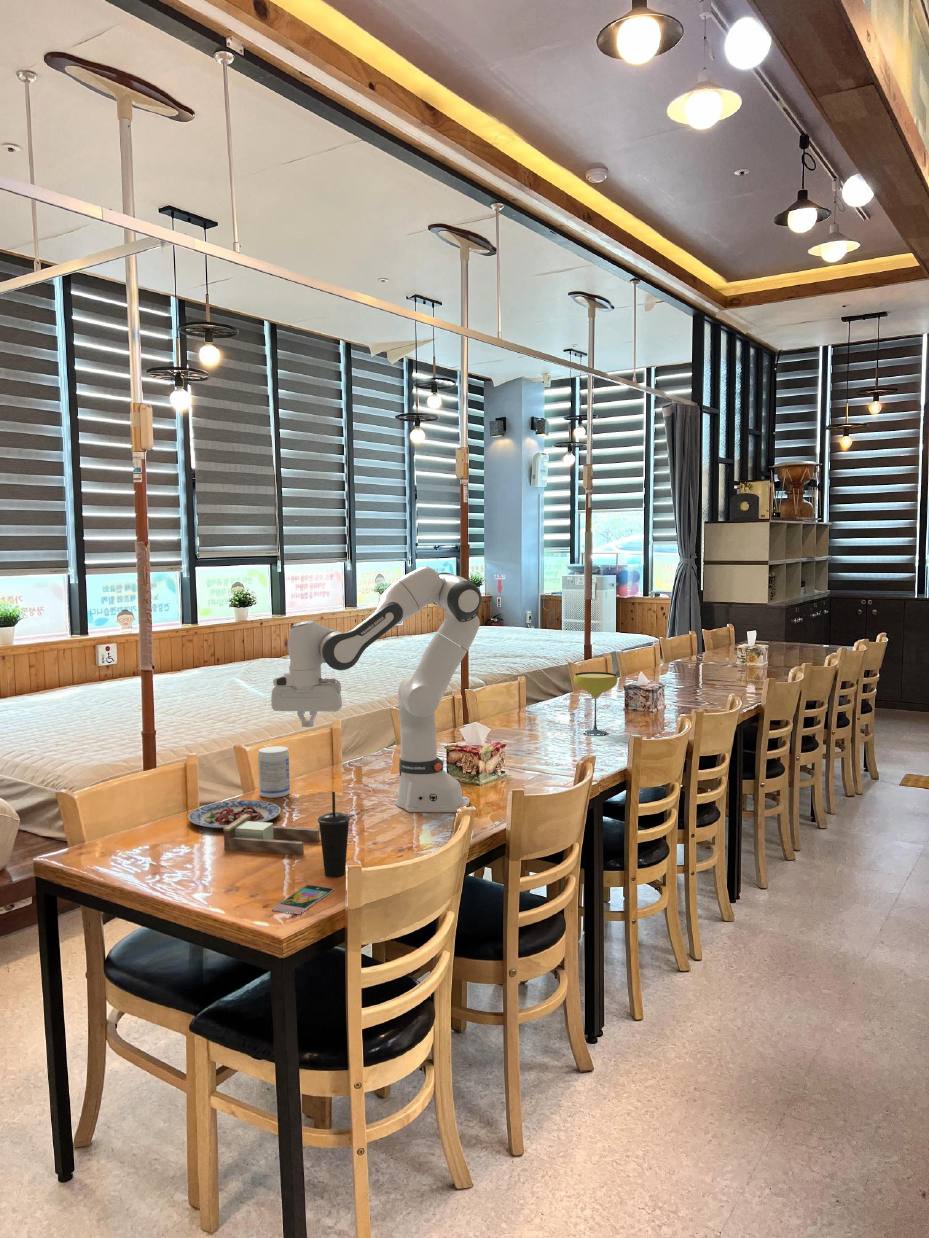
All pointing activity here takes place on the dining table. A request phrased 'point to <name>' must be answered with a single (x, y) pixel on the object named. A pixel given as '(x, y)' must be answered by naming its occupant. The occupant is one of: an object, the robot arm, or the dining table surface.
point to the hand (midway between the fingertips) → (307, 726)
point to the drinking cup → (334, 841)
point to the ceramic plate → (233, 812)
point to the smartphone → (303, 899)
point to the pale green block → (255, 830)
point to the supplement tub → (273, 772)
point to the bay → (268, 844)
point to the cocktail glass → (595, 688)
